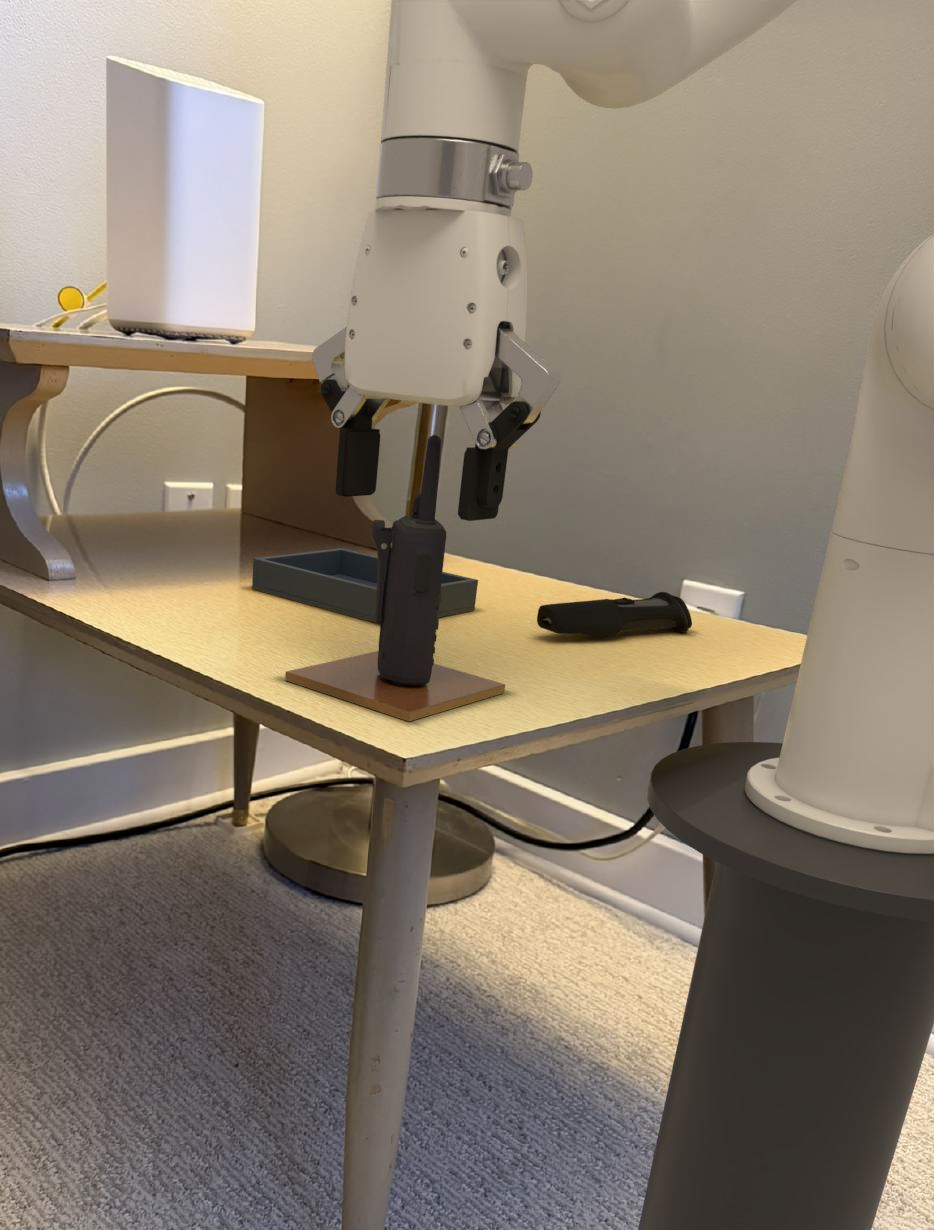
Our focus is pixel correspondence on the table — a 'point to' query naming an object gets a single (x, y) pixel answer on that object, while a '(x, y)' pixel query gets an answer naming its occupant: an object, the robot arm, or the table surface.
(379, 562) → the two-way radio
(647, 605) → the electric trimmer
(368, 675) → the cork pad
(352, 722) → the table surface
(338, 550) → the tray
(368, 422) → the robot arm
